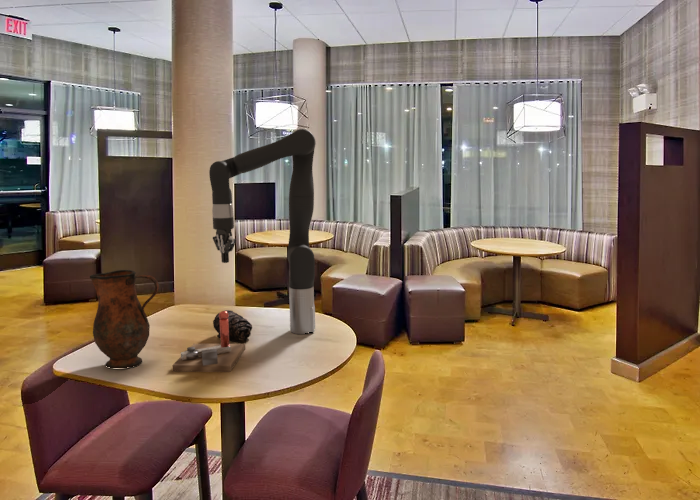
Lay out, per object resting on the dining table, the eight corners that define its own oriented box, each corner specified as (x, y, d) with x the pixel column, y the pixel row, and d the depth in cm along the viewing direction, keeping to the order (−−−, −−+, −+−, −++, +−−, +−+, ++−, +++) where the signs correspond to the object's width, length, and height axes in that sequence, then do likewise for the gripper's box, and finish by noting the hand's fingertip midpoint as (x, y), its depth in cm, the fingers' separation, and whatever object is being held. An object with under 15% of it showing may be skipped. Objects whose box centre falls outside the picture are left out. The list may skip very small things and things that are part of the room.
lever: (183, 360, 168) (180, 319, 166) (180, 356, 172) (177, 315, 170) (232, 352, 175) (230, 311, 173) (228, 348, 179) (226, 308, 177)
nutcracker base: (245, 349, 185) (244, 332, 184) (230, 371, 165) (229, 353, 164) (194, 349, 186) (193, 332, 185) (172, 371, 166) (171, 352, 165)
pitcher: (108, 355, 181) (101, 267, 176) (172, 354, 181) (166, 267, 176) (85, 374, 164) (76, 278, 160) (154, 373, 164) (148, 277, 160)
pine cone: (242, 346, 188) (241, 318, 187) (208, 337, 198) (206, 311, 197) (263, 338, 197) (262, 311, 195) (229, 330, 207) (227, 305, 205)
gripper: (241, 216, 195) (243, 263, 198) (222, 214, 204) (224, 259, 207) (223, 218, 190) (226, 266, 193) (204, 215, 199) (207, 261, 202)
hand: (225, 262), depth 200 cm, fingers closed
